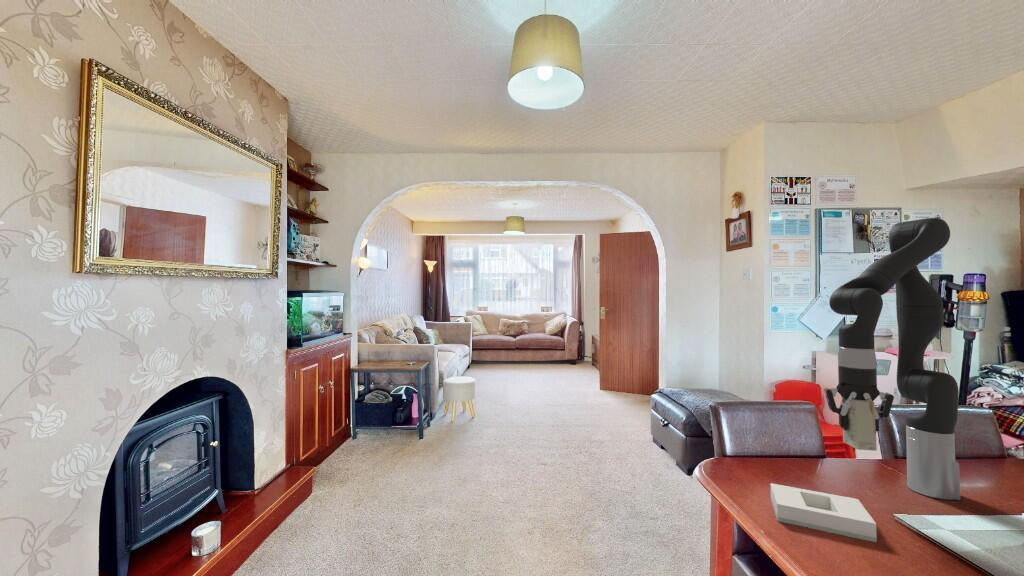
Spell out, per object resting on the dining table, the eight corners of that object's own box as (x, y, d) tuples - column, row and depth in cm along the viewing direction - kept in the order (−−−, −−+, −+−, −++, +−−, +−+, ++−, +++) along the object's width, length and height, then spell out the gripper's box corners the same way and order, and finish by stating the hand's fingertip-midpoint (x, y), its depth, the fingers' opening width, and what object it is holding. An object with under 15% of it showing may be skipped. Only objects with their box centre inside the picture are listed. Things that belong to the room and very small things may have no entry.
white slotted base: (858, 515, 96) (857, 499, 97) (876, 542, 86) (876, 523, 86) (770, 498, 105) (770, 483, 105) (777, 521, 94) (777, 503, 94)
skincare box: (877, 451, 99) (876, 402, 99) (857, 450, 100) (856, 401, 100) (860, 442, 105) (859, 396, 105) (841, 441, 106) (840, 395, 106)
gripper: (887, 364, 103) (889, 430, 102) (819, 361, 109) (820, 423, 109) (899, 369, 96) (901, 440, 96) (826, 365, 103) (827, 431, 102)
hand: (858, 430), depth 102 cm, fingers closed on skincare box, 5 cm apart
